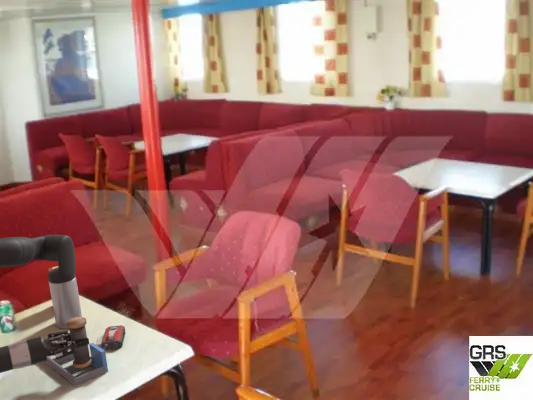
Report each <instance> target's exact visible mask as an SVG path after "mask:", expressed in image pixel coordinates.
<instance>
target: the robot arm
mask: <svg viewBox="0 0 533 400" xmlns="http://www.w3.org/2000/svg"><path fill="white" fill-rule="evenodd" d="M31 261H46V262H57V264H58V265H57V266H58V268H55V269H53V270H51V271H50V272H49V271H48V274H47V279H48V286H49V291H50V297H51V305H52V309H53V317H54V320H55V321H54V323H55V327H56V328H59V329H62V330H63V329H69V328H68V327H67V321H68V320H70V319H72V318H75V317H83V314H82V309H81V301H80V296H79V295H80V293H79V288H78V283H77V276H76V268H77V263H76V254H75V244H74V242H73V239H72V237H70V236H69V235H66V234H46V235H41V236H38V237H31V238H30V237H27V236H10V237H1V238H0V268H7V267H9V268H10V267H19V266H20V267H21V266H25V265H27V264H29V263H30V262H31ZM89 344H90V339H89V338H88V337H86V338H82V339H78V340H75V341H71V337H70V332H69V330H64V331H55V332H51V333H48V334H47V338H46V339H43V337H42V336H35V337H32V338H28V339H25V340H20V341H16V342H14V343H12V344H9V345H5V346H1V347H0V373H1V374H2V373H5V372H10V371H13V370H18V369H24V368H26V367H31V366H34V365H38V364H42V363H46V362H45V361H46V360H47V358H46V357H47V356H49V357H51V356H52V357H56V359H57V360H58V359H61V358H63V357H66V356H68V355H70V354H73V353H75V352H76V351H75V350H76V349H77V348H79V347H82V346H86V345H88V346H89ZM64 346H65V347H64Z"/></svg>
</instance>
